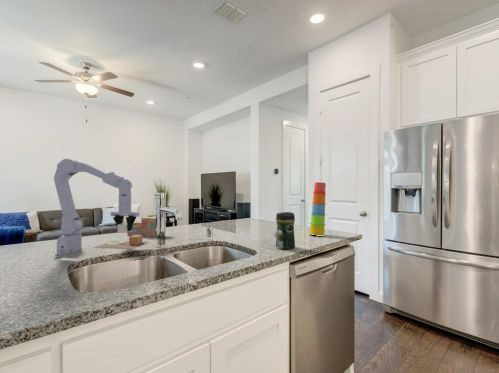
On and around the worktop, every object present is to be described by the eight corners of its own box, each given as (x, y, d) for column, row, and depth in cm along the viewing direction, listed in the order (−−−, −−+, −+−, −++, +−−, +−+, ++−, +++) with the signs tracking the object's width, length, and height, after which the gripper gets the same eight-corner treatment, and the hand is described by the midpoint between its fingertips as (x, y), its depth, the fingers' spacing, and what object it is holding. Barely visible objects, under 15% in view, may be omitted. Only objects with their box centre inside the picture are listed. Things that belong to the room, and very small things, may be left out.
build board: (132, 251, 122) (132, 248, 122) (93, 249, 126) (93, 246, 126) (149, 244, 137) (149, 241, 137) (114, 242, 140) (114, 240, 140)
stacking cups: (315, 233, 172) (315, 182, 172) (328, 235, 164) (328, 182, 164) (305, 235, 166) (306, 182, 166) (319, 237, 158) (319, 182, 158)
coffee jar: (287, 245, 138) (287, 211, 138) (297, 248, 131) (297, 212, 131) (273, 247, 132) (273, 212, 132) (283, 250, 126) (283, 213, 126)
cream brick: (126, 232, 124) (126, 224, 124) (117, 232, 125) (117, 224, 125) (131, 231, 129) (131, 223, 129) (123, 230, 129) (123, 223, 129)
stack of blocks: (126, 237, 155) (127, 217, 155) (132, 235, 161) (132, 216, 161) (160, 238, 153) (160, 218, 153) (164, 236, 159) (165, 216, 159)
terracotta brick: (137, 244, 132) (137, 236, 132) (129, 244, 133) (129, 236, 133) (142, 242, 136) (142, 235, 136) (134, 242, 137) (134, 234, 137)
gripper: (142, 203, 129) (142, 229, 129) (117, 202, 132) (117, 228, 132) (134, 204, 122) (134, 232, 123) (107, 203, 125) (107, 231, 125)
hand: (124, 230), depth 127 cm, fingers closed on cream brick, 5 cm apart
